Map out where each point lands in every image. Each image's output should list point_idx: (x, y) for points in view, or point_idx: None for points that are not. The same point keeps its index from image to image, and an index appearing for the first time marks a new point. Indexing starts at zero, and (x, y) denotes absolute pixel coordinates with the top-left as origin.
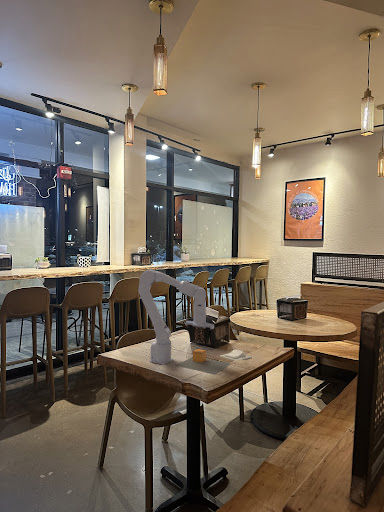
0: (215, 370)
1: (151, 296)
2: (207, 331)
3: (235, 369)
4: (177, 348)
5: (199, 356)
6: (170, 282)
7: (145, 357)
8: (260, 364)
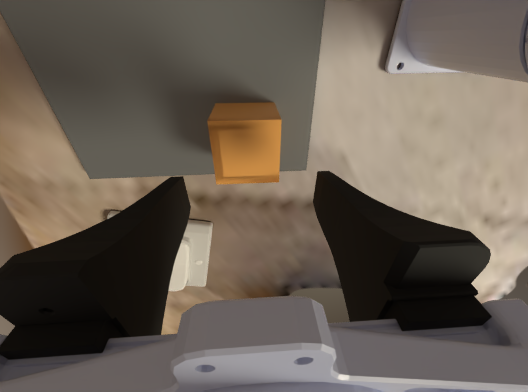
0: (34, 13)
1: None
2: (9, 259)
3: (37, 142)
4: None
5: (224, 112)
6: None
7: None
8: (38, 245)
